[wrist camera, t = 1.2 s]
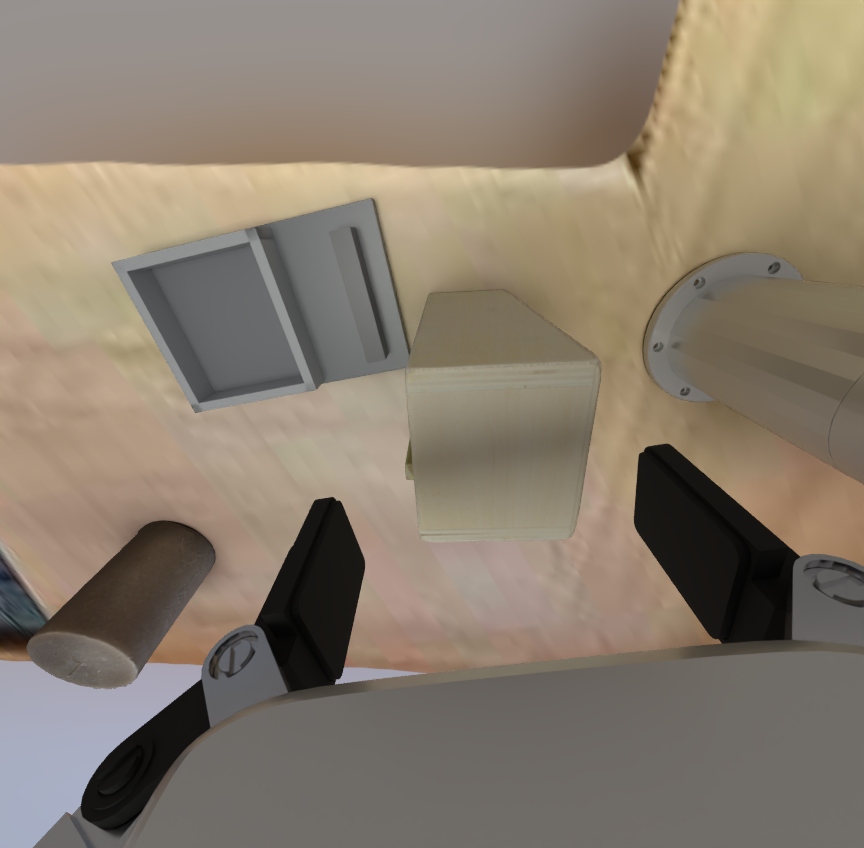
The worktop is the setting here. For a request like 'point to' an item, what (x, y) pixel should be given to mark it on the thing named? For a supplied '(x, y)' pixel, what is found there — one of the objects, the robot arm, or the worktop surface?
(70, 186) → the worktop surface
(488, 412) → the beige tall block
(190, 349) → the tray
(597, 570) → the worktop surface
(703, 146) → the worktop surface
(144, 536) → the pillar candle
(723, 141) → the worktop surface
